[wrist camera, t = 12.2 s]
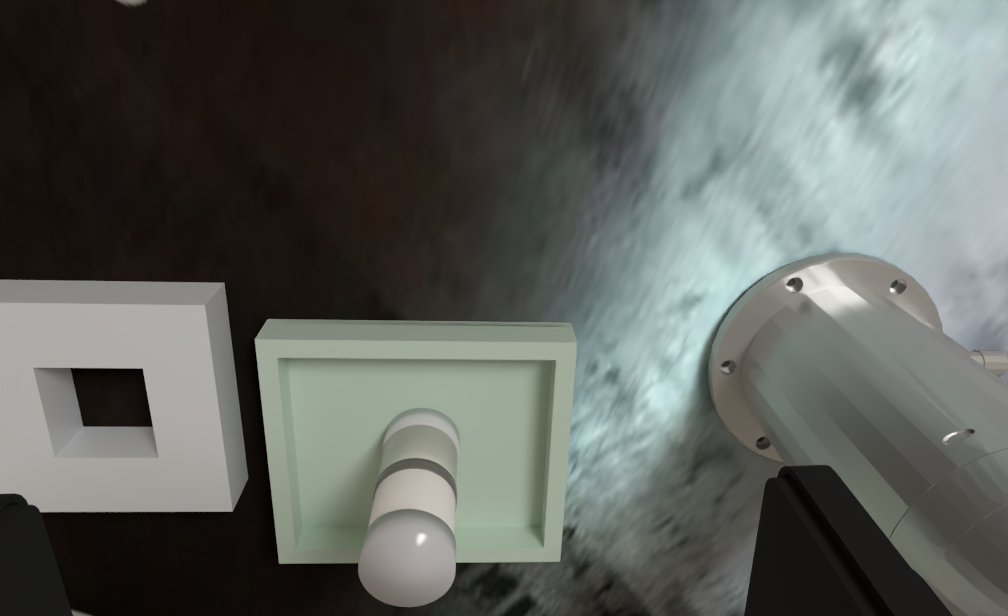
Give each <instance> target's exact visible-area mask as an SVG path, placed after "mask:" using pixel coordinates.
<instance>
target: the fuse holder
mask: <svg viewBox="0 0 1008 616" xmlns="http://www.w3.org/2000/svg"><path fill="white" fill-rule="evenodd" d="M70 368H143V373H144V378H145V384H146V390H147V396H148V401H149V407H150V413H151V418H152V424H153V427H83V424H82V419H81V414H80V410H79V405H78V401H77V396H76V392H75V387H74V382H73V378H72V373H71V369H70ZM247 480H248V472H247V464H246V456H245V448H244V440H243V431H242V423H241V415H240V407H239V399H238V391H237V382H236V374H235V366H234V358H233V350H232V341H231V333H230V325H229V317H228V309H227V300H226V292H225V284H224V283H197V282H126V281H55V280H0V494H12V493H15V494H19V495H22V496H23V497H24V498H25V499H26V501H27V503H28V505H35V506H36V507H37V508H38V509H39V510H40V512H233V510H234V508H235V506H236V503H237V501H238V499H239V497H240V495H241V493H242V491H243V488H244V486H245V484H246V482H247Z"/></svg>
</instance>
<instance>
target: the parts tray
mask: <svg viewBox="0 0 1008 616" xmlns="http://www.w3.org/2000/svg"><path fill="white" fill-rule="evenodd" d="M255 346H256V356H257V365H258V374H259V383H260V392H261V402H262V411H263V420H264V429H265V438H266V448H267V457H268V466H269V475H270V484H271V494H272V503H273V512H274V521H275V531H276V540H277V549H278V558H279V564H287V563H359V559H360V554H361V549H362V544H363V540H364V536H365V533H366V531H367V529H368V526H369V521H370V516H371V511H372V506H373V496H374V491H375V486H376V482H377V479H378V476H379V471H380V466H381V461H382V458H381V451H382V446H383V441H384V436H385V432H386V429H387V427H388V425H389V423H390V422H391V421H392V420H393V419H394V418H395V417H396V416H397V415H399V414H400V413H402V412H404V411H407V410H410V409H415V408H428V409H433V410H436V411H439V412H441V413H443V414H444V415H446V416H447V417H449V418H450V419H451V420H452V421H453V423H454V424H455V426H456V427H457V429H458V432H459V436H460V451H459V462H458V466H457V482H456V487H457V506H456V511H455V535H454V536H455V540H456V562H560V557H561V544H562V531H563V519H564V506H565V493H566V480H567V467H568V454H569V442H570V429H571V416H572V403H573V390H574V377H575V365H576V352H577V340H576V337H575V334H574V331H573V328H572V325H571V323H557V322H470V321H384V320H298V319H267V321H266V322H265V324H264V326H263V327H262V329H261V330H260V332H259V333H258V335H257V337H256V338H255Z"/></svg>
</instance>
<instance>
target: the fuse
mask: <svg viewBox="0 0 1008 616" xmlns="http://www.w3.org/2000/svg"><path fill="white" fill-rule="evenodd" d="M459 451H460V436H459V432H458V429H457V427H456V426H455V424H454V423H453V421H452V420H451V419H450V418H449V417H447V416H446V415H444V414H443V413H441V412H439V411H436V410H433V409H428V408H415V409H410V410H407V411H404V412H402V413H400V414H399V415H397V416H396V417H395V418H394V419H393V420H392V421H391V422H390V423H389V425H388V427H387V429H386V432H385V436H384V441H383V446H382V451H381V458H382V461H381V466H380V471H379V476H378V479H377V482H376V486H375V491H374V496H373V506H372V511H371V516H370V521H369V526H368V529H367V531H366V533H365V536H364V540H363V544H362V549H361V554H360V559H359V565H358V573H359V578H360V580H361V582H362V584H363V586H364V587H365V589H366V590H367V591H368V592H369V593H370V594H371V595H372V596H374V597H375V598H377V599H378V600H380V601H382V602H384V603H387V604H390V605H394V606H400V607H416V606H421V605H425V604H428V603H431V602H433V601H435V600H437V599H438V598H440V597H441V596H443V595H444V594H445V593H446V592H447V591H448V589H449V588H450V587H451V585H452V583H453V581H454V577H455V569H456V540H455V536H454V535H455V511H456V506H457V487H456V482H457V466H458V462H459Z"/></svg>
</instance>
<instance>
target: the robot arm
mask: <svg viewBox="0 0 1008 616" xmlns="http://www.w3.org/2000/svg"><path fill="white" fill-rule="evenodd" d="M790 279H792V280H791V281H790V282H789V283H787V282H788V281H789V280H790ZM725 361H726V362H725ZM723 362H725V363H723ZM1007 370H1008V359H1007V356H1006V355H1005V354H1004V352H1003V351H999V350H974V351H969V350H967V349H966V348H964V347H963V346H961V345H960V344H959V343H957V342H956V341H954V340H953V339H951V338H950V337H949V336H947V335H946V334H944V333H943V332H942V323H941V320H940V317H939V314H938V311H937V308H936V306H935V304H934V302H933V301H932V299H931V298H930V296H929V294H928V293H927V291H926V290H925V289H924V288H923V287H922V286H921V285H920V284H919V283H918V282H917V281H916V280H915V279H914V278H913V277H912V276H910V275H909V274H907V273H906V272H904V271H902V270H901V269H899V268H898V267H896V266H894V265H892V264H890V263H888V262H885V261H883V260H881V259H879V258H876V257H872V256H867V255H862V254H858V253H829V254H823V255H816V256H810V257H808V258H805V259H802V260H799V261H796V262H793V263H790V264H788V265H786V266H784V267H782V268H780V269H778V270H776V271H775V272H773V273H771V274H769V275H767V276H766V277H765V278H763V279H762V280H761V281H759V282H758V283H757V284H755V285H754V286H753V287H752V288H750V289H749V290H748V291H747V292H746V293H745V294H744V295H743V296H742V297H741V298H740V299H739V301H738V302H737V303H736V304H735V305H734V306H733V307H732V309H731V310H730V312H729V313H728V315H727V316H726V318H725V319H724V321H723V322H722V324H721V325H720V328H719V330H718V332H717V335H716V337H715V339H714V342H713V344H712V348H711V353H710V358H709V362H708V386H709V390H710V395H711V399H712V402H713V404H714V407H715V409H716V411H717V413H718V415H719V417H720V419H721V420H722V422H723V423H724V425H725V426H726V427H727V429H728V431H729V432H730V433H731V434H732V435H733V436H734V437H735V438H736V439H737V440H738V441H739V442H740V443H741V444H742V445H743V446H745V447H746V448H748V449H749V450H751V451H752V452H754V453H756V454H758V455H760V456H763V457H766V458H768V459H771V460H774V461H777V462H783V463H785V464H786V466H785V467H783V468H781V470H780V471H779V473H778V477H777V478H770V479H768V480H767V482H766V485H765V489H764V496H763V502H762V508H761V514H760V521H759V527H758V533H757V539H756V546H755V552H754V558H753V564H752V571H751V577H750V583H749V589H748V596H747V602H746V608H745V614H744V616H1008V383H1006V382H1005V381H1004V380H1002V379H1001V378H999V377H1000V376H1002V375H1004V374H1005V373H1006V371H1007ZM0 616H73V615H72V612H71V608H70V605H69V602H68V599H67V595H66V592H65V589H64V586H63V583H62V579H61V576H60V573H59V570H58V566H57V563H56V560H55V557H54V554H53V550H52V547H51V544H50V541H49V537H48V534H47V531H46V528H45V525H44V521H43V518H42V515H41V513H40V510H39V509H38V508H37V507H36V506H35V505H28V503H27V501H26V499H25V498H24V497H23V496H22V495H19V494H15V493H12V494H0Z"/></svg>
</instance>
